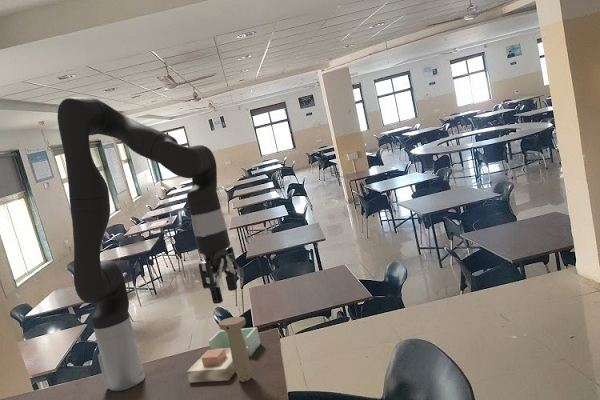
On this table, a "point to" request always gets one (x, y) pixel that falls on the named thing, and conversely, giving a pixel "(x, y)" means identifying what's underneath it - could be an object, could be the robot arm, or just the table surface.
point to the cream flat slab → (212, 370)
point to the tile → (213, 357)
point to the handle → (237, 346)
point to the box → (249, 336)
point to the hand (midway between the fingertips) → (225, 296)
